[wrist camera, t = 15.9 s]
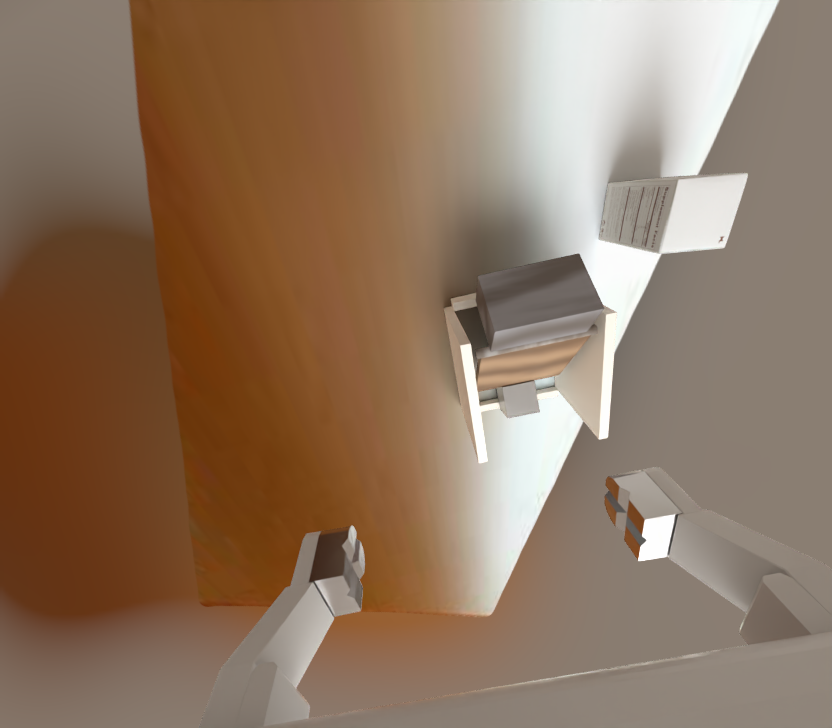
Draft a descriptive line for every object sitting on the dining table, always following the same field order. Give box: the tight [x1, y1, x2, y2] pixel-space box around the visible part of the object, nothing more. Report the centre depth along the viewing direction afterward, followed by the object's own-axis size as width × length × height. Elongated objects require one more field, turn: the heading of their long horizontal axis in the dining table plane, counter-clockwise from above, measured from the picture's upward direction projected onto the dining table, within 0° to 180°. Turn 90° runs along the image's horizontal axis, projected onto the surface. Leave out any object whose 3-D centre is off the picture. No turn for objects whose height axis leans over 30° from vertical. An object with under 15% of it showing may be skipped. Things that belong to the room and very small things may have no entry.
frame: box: [444, 293, 617, 463], centre depth 48 cm, size 20×18×14 cm
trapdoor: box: [475, 254, 604, 392], centre depth 44 cm, size 20×14×7 cm
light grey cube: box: [496, 380, 540, 418], centre depth 55 cm, size 5×5×5 cm
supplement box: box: [599, 173, 748, 254], centre depth 40 cm, size 7×7×13 cm
